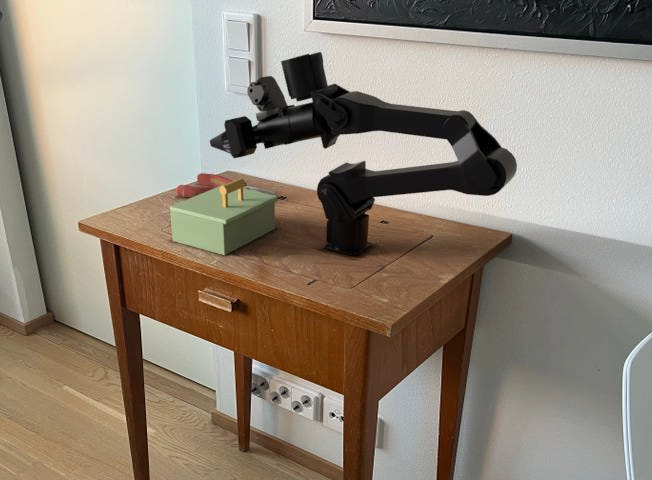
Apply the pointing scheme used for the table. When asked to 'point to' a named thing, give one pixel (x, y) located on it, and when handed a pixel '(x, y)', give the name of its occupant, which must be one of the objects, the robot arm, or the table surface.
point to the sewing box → (222, 230)
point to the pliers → (211, 186)
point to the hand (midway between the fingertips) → (225, 139)
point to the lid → (224, 203)
